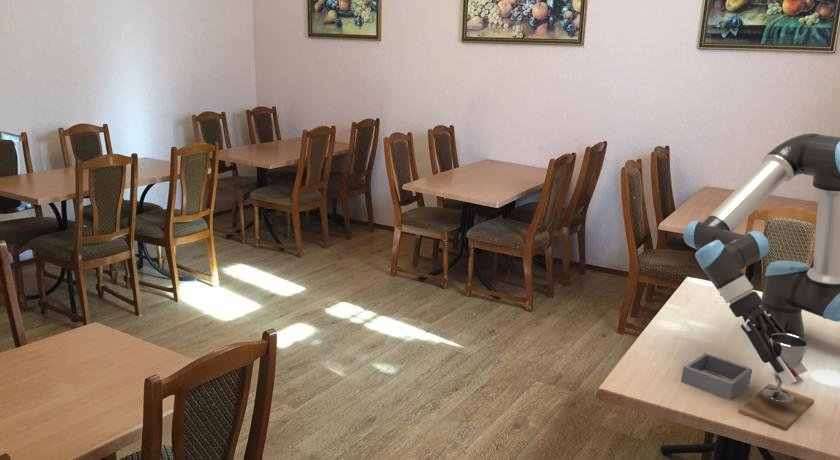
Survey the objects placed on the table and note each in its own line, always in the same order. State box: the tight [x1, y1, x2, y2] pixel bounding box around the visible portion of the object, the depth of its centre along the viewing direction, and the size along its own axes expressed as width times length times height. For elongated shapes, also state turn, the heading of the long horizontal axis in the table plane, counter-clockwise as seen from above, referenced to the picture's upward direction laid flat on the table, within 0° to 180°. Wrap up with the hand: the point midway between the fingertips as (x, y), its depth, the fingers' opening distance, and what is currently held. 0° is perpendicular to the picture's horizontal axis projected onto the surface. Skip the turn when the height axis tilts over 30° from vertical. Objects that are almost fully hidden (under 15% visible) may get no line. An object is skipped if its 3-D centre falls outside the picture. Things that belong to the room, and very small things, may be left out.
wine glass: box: [762, 333, 808, 402], centre depth 173 cm, size 8×8×15 cm
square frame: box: [680, 352, 753, 401], centre depth 187 cm, size 13×13×4 cm
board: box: [737, 383, 815, 431], centre depth 176 cm, size 20×11×1 cm, turn 134°
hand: (797, 377), depth 171 cm, fingers closed on wine glass, 8 cm apart
